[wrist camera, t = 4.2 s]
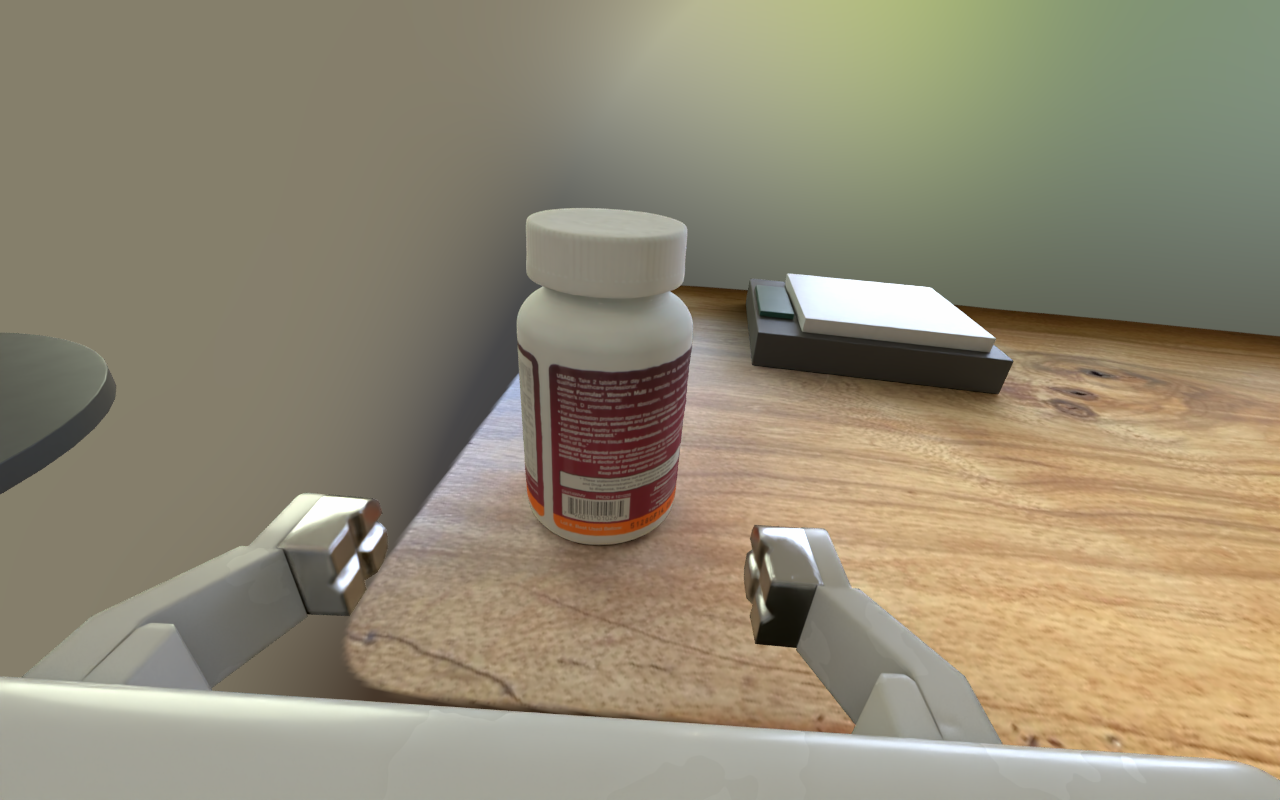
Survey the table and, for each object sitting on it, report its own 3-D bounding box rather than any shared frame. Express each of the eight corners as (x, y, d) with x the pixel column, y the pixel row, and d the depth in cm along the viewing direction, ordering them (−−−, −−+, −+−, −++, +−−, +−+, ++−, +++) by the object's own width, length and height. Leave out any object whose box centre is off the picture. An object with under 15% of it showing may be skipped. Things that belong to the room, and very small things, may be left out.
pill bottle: (701, 498, 22) (743, 227, 17) (602, 579, 18) (614, 251, 12) (599, 441, 25) (606, 200, 20) (496, 498, 21) (468, 212, 16)
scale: (751, 365, 35) (760, 317, 33) (745, 303, 47) (751, 267, 45) (998, 394, 33) (1020, 346, 31) (925, 322, 45) (939, 285, 44)
